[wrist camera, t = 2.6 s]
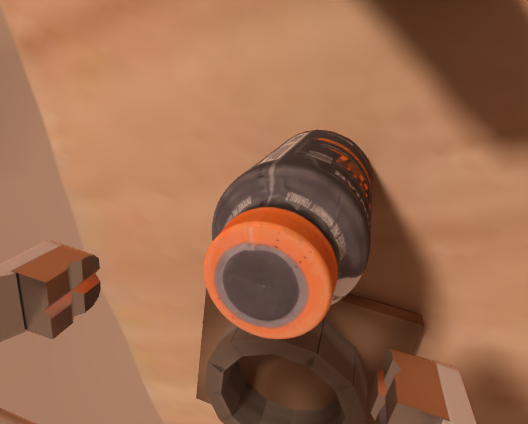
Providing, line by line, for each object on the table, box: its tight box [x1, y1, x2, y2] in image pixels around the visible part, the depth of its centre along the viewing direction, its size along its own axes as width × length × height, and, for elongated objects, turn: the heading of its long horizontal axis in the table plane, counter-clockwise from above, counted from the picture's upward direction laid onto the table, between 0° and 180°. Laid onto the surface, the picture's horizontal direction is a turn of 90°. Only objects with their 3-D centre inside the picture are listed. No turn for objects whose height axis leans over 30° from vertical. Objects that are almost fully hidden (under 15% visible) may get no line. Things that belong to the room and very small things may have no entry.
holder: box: [196, 287, 424, 424], centre depth 24 cm, size 14×14×4 cm
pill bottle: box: [204, 130, 372, 339], centre depth 15 cm, size 6×6×11 cm
